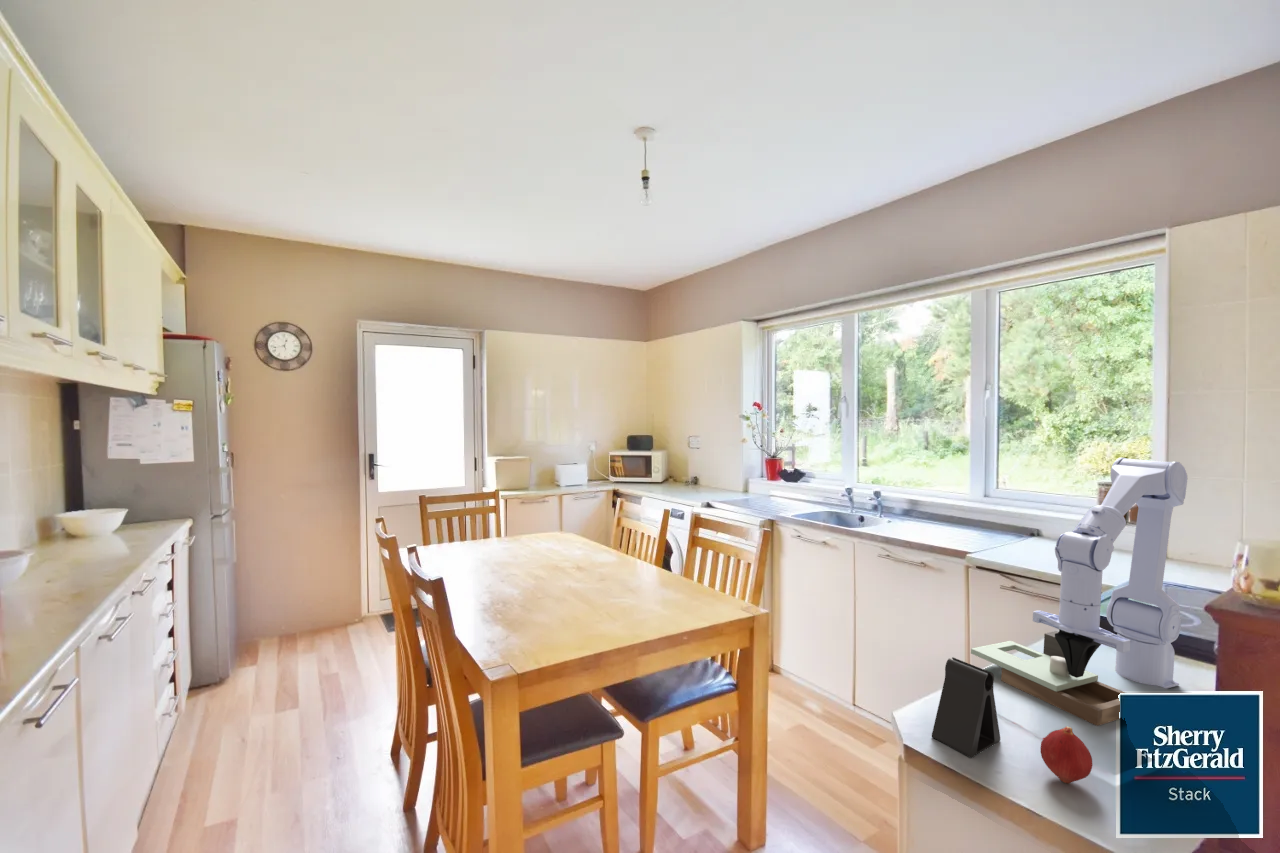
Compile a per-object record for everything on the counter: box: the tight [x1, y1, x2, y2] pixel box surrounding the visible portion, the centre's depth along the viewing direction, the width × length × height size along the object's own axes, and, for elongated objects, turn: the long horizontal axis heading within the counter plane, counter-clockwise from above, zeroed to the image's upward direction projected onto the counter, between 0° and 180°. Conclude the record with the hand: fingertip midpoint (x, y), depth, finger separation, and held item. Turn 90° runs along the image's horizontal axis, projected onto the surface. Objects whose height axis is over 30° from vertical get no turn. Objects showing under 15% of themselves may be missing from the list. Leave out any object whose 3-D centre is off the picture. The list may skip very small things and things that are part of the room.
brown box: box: [1000, 667, 1126, 727], centre depth 100 cm, size 12×16×4 cm
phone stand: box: [931, 656, 1001, 759], centre depth 87 cm, size 9×6×12 cm, turn 121°
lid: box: [970, 640, 1099, 692], centre depth 106 cm, size 12×16×4 cm
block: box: [1042, 630, 1065, 658], centre depth 111 cm, size 4×4×8 cm
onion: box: [1040, 726, 1093, 784], centre depth 78 cm, size 6×6×8 cm
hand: (1075, 675), depth 99 cm, fingers closed
